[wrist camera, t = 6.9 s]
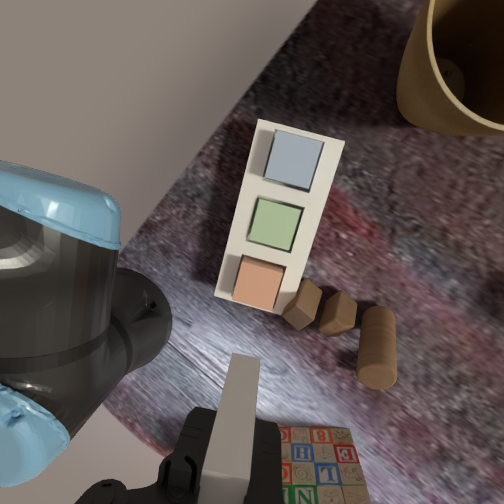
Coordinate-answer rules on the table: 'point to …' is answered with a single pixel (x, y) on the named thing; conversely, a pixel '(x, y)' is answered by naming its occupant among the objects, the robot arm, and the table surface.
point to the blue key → (293, 159)
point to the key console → (282, 193)
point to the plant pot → (455, 68)
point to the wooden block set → (342, 319)
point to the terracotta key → (258, 283)
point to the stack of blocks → (321, 467)
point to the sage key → (274, 223)
